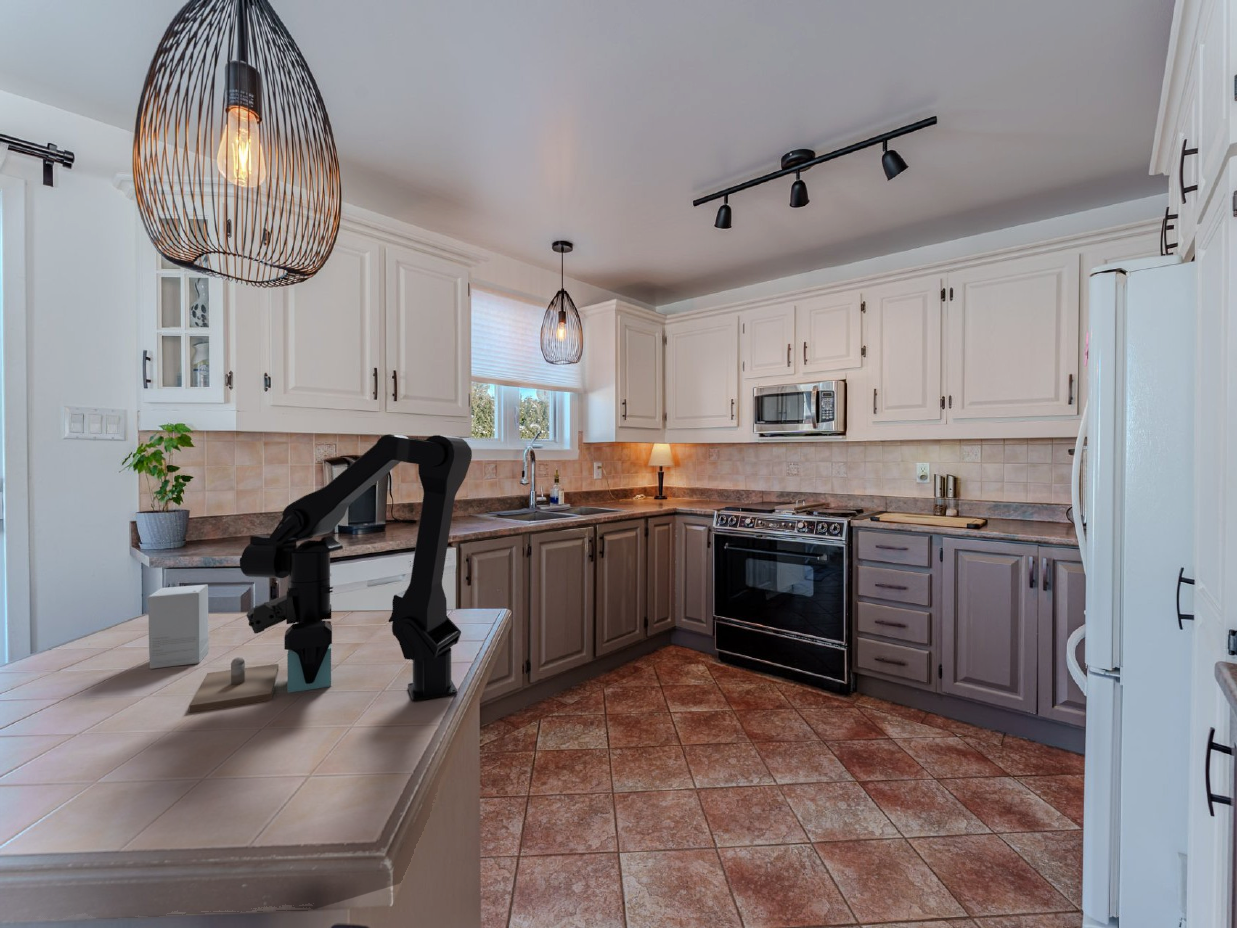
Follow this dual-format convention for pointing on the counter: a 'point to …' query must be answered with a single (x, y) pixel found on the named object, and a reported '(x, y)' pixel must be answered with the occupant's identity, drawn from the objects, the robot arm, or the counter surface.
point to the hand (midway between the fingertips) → (310, 676)
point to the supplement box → (178, 626)
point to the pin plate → (235, 686)
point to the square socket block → (297, 677)
